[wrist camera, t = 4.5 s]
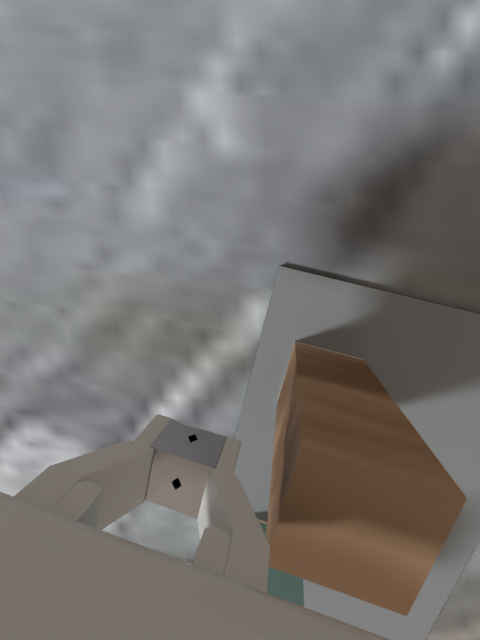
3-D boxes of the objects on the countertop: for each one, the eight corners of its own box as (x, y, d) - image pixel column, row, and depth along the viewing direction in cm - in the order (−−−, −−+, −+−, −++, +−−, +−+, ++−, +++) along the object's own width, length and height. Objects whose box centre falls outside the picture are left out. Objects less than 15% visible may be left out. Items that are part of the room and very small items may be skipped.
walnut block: (294, 340, 17) (302, 447, 7) (363, 359, 17) (467, 498, 7) (277, 400, 18) (263, 564, 8) (341, 419, 17) (406, 615, 8)
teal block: (244, 514, 20) (203, 750, 10) (301, 533, 20) (312, 799, 10) (232, 557, 21) (183, 811, 11) (285, 576, 21) (282, 858, 11)
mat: (279, 265, 17) (279, 265, 16) (581, 338, 15) (589, 340, 14) (195, 591, 23) (193, 596, 22) (402, 670, 21) (404, 678, 21)
